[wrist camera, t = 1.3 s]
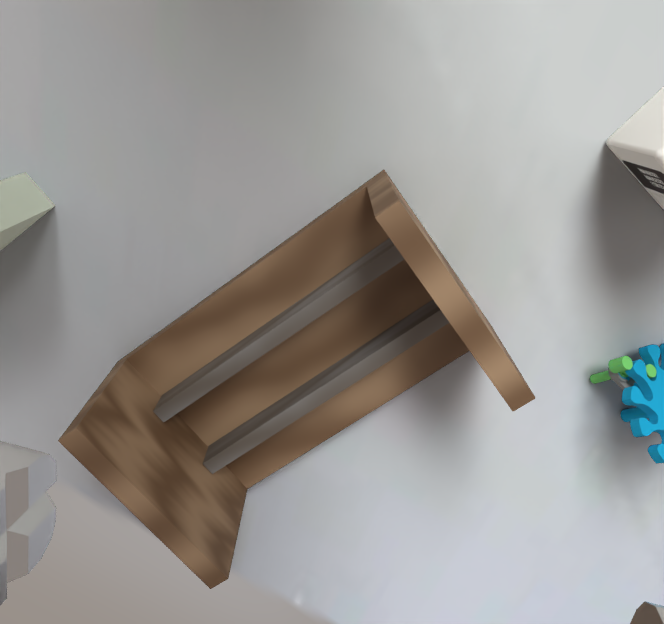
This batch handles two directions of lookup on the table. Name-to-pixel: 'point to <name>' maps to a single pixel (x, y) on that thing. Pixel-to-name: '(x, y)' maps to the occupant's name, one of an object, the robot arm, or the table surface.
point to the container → (644, 146)
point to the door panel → (20, 206)
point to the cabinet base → (280, 370)
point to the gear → (641, 393)
